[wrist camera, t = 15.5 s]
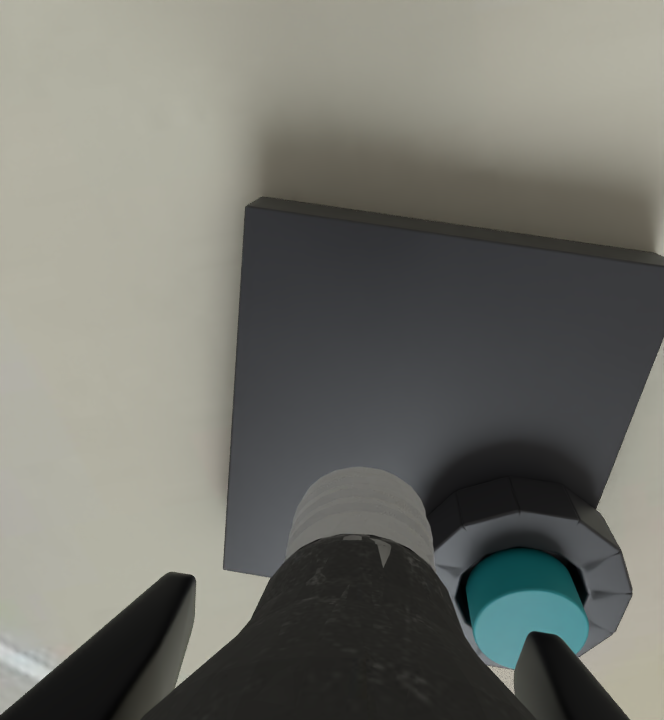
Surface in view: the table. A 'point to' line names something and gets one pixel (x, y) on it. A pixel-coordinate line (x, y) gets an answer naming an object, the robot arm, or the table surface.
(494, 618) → the button
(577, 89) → the table surface
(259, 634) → the light bulb
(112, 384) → the table surface
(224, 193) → the table surface
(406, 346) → the button base
